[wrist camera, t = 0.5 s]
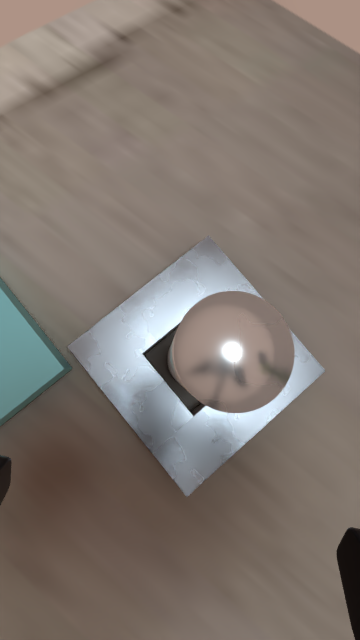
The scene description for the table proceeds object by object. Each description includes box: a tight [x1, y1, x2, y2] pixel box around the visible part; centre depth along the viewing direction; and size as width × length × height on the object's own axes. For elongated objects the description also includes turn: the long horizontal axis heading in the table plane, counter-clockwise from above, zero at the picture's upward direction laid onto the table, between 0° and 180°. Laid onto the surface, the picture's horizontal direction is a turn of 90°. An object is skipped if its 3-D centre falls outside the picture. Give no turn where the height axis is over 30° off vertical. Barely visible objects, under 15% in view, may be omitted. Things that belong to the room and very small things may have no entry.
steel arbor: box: [167, 291, 295, 413], centre depth 17 cm, size 4×4×13 cm
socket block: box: [67, 236, 325, 496], centre depth 23 cm, size 12×12×2 cm
